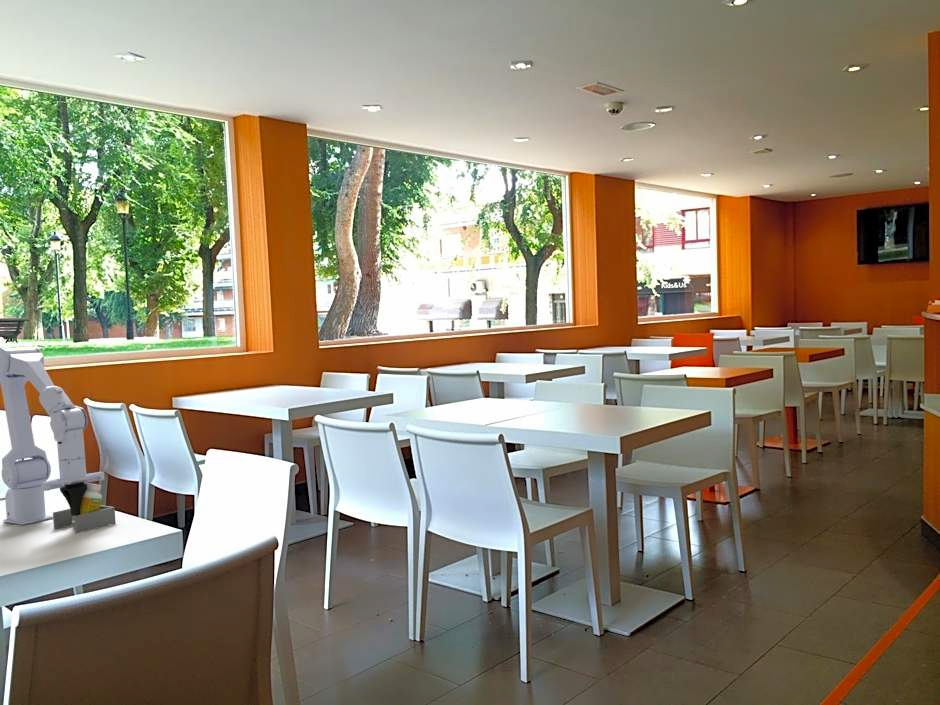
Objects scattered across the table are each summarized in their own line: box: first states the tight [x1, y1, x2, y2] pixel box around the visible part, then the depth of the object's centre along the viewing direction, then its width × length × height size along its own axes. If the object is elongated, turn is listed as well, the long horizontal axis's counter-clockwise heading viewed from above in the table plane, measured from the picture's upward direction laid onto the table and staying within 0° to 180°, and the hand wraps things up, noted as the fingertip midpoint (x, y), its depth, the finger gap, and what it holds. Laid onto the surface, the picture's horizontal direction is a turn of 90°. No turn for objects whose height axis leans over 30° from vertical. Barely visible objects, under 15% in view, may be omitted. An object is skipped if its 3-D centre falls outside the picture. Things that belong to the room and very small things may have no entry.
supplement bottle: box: [72, 482, 103, 523], centre depth 195 cm, size 5×5×10 cm
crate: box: [52, 504, 116, 534], centre depth 194 cm, size 10×10×4 cm
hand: (76, 515), depth 192 cm, fingers closed, pressing on supplement bottle
